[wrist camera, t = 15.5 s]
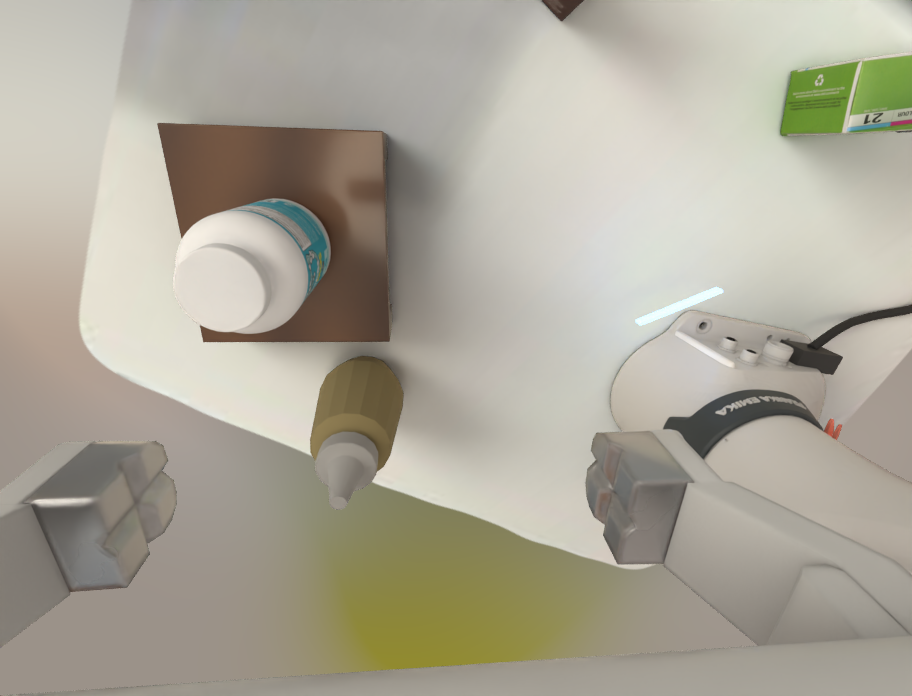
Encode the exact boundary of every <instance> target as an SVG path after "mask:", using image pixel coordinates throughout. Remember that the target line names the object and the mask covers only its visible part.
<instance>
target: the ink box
mask: <svg viewBox="0 0 912 696" xmlns="http://www.w3.org/2000/svg"><path fill="white" fill-rule="evenodd" d="M894 131H895V132H898V133H900V132H911V131H912V52H906V53H898V54H890V55H883V56H876V57H869V58H861V59H856V60H850V61H844V62H839V63H833V64H827V65H822V66H816V67H811V68H806V69H801V70H796V71H792V72H791V80H790V85H789V90H788V94H787V99H786V104H785V110H784V115H783V121H782V126H781V135H782V136H802V135H831V134H859V133H876V132H894Z"/></svg>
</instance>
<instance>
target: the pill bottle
mask: <svg viewBox="0 0 912 696" xmlns="http://www.w3.org/2000/svg"><path fill="white" fill-rule="evenodd" d="M330 257H331V246H330V241H329V237H328V234H327V232H326V230H325V228H324V226H323V225H322V223H321V222H320V220H319V219H318V218H317V217H316V216H315V215H314V214H313V213H312V212H311V211H310V210H308V209H307V208H305V207H304V206H302V205H300V204H298V203H296V202H293V201H290V200H285V199H266V200H262V201H258V202H255V203H251V204H248V205H244V206H241V207H237V208H233V209H230V210H226V211H223V212H219V213H216V214H213V215H210V216H207V217H205V218H203V219H201V220H200V221H198V222H197V223H195V224H194V225H193V226H192V227H191V228H190V229H189V230H188V231H187V232H186V233H185V235H184V236H183V238H182V240H181V242H180V244H179V247H178V249H177V253H176V259H175V272H174V276H173V290H174V294H175V297H176V300H177V302H178V304H179V306H180V307H181V308H182V310H183V311H184V312H185V313H186V314H187V315H188V316H189V317H190V318H191V319H192V320H193V321H195V322H196V323H198V324H199V325H201V326H203V327H205V328H208V329H211V330H214V331H219V332H236V333H243V334H255V333H262V332H266V331H270V330H273V329H275V328H277V327H279V326H281V325H283V324H284V323H286V322H287V321H288V320H289V319H290V318H292V316H293V315H294V314H295V313H296V312H297V310H298V309H299V308H300V307H301V305H302V304H303V303H304V301H305V300H306V298H307V297H308V296H309V294H310V293H311V292H312V290H313V289H314V288H315V287H316V285H317V284H318V283H319V281H320V280H321V278H322V277H323V276H324V274H325V273H326V271H327V268H328V266H329V262H330Z"/></svg>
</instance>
